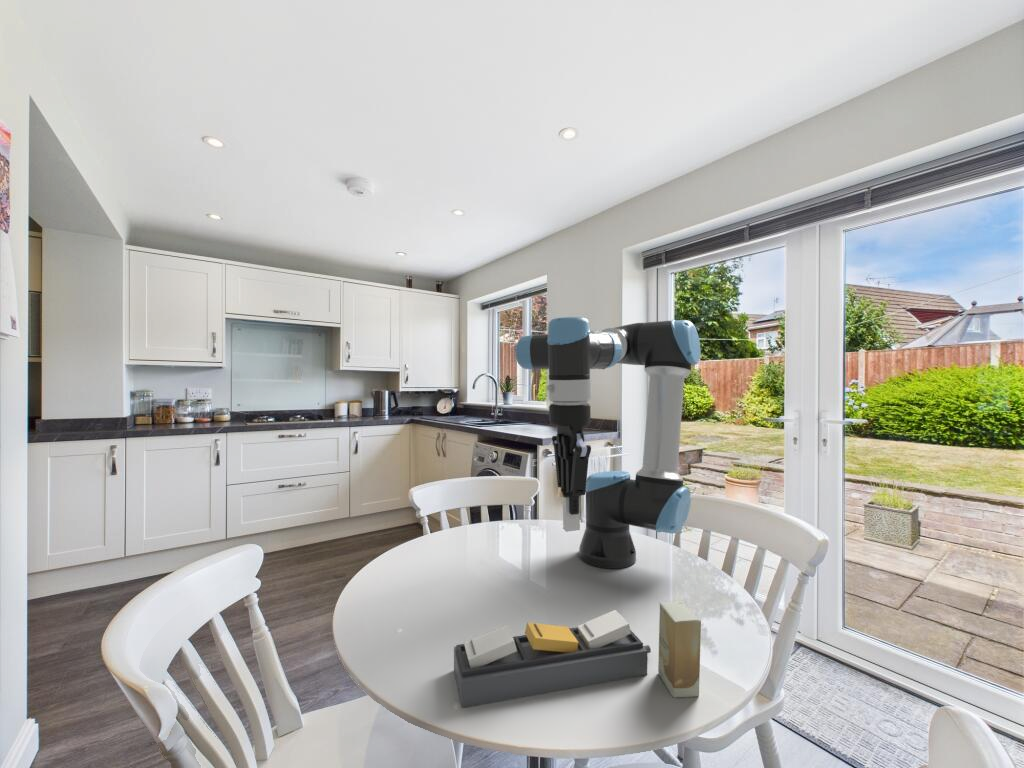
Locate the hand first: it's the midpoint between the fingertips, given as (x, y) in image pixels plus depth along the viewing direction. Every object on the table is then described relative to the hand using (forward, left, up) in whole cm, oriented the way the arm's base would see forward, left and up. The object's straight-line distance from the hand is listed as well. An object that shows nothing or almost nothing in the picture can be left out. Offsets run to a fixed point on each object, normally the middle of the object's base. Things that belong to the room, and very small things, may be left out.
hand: (571, 529), depth 85 cm
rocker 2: (-3, +7, -16) cm, 18 cm away
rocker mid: (+7, +7, -16) cm, 19 cm away
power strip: (+5, +7, -21) cm, 23 cm away
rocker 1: (+17, +7, -16) cm, 24 cm away
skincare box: (-12, +15, -21) cm, 29 cm away
